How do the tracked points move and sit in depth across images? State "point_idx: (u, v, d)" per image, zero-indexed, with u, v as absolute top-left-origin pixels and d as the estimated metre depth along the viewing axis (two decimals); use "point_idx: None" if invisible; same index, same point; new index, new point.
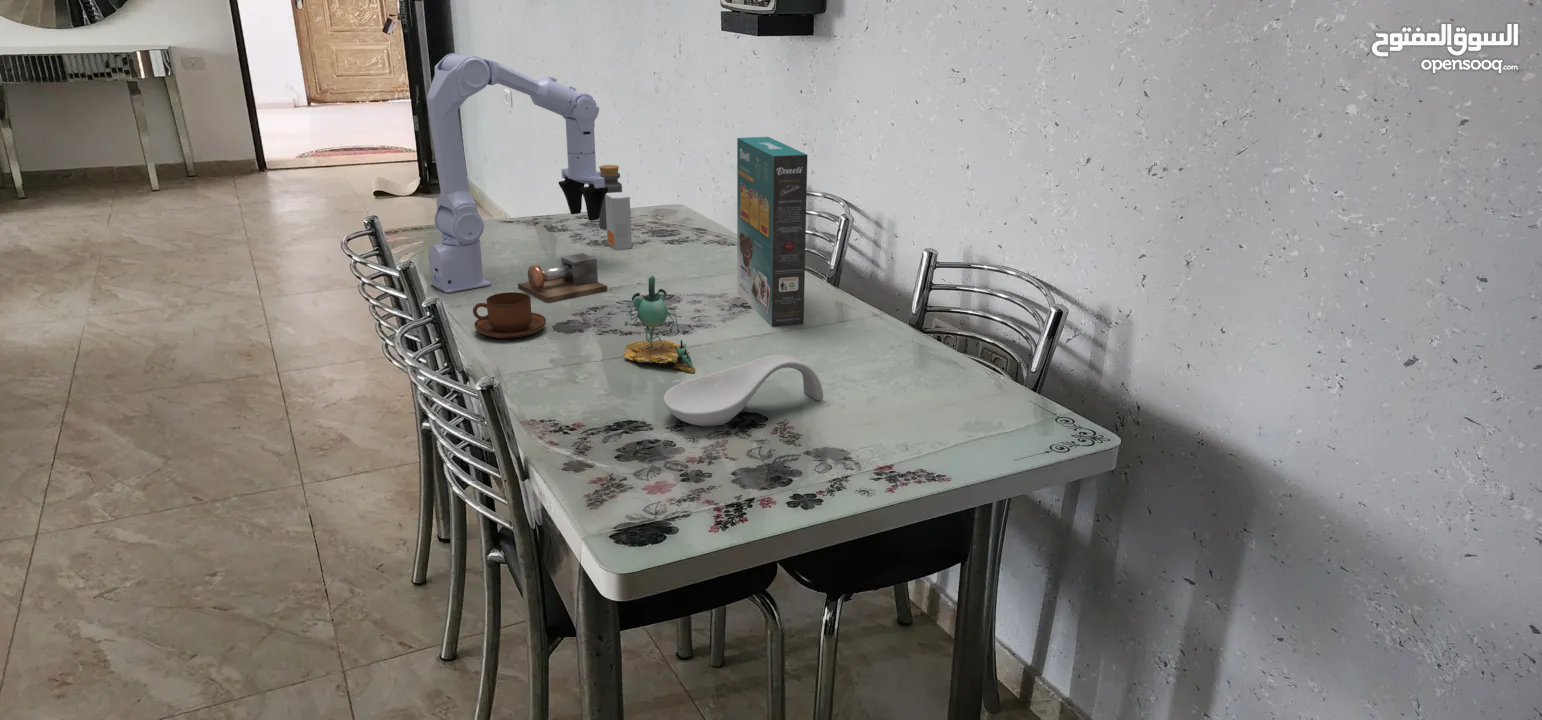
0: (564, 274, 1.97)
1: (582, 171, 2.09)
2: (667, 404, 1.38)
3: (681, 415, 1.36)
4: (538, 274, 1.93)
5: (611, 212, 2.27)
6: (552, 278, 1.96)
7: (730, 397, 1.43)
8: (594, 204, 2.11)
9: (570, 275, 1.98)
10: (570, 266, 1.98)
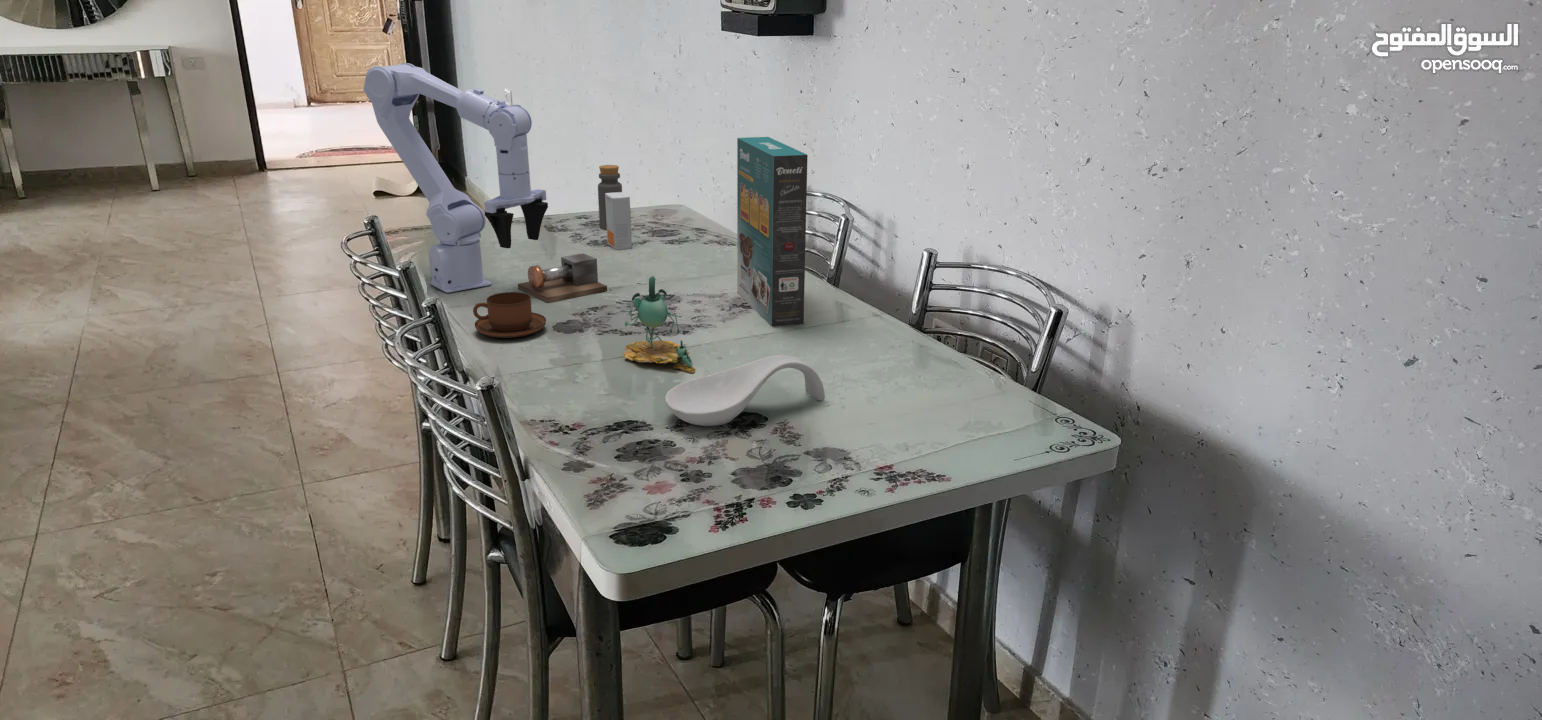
0: (564, 274, 1.97)
1: (500, 192, 1.90)
2: (668, 404, 1.38)
3: (682, 415, 1.36)
4: (538, 274, 1.93)
5: (611, 212, 2.27)
6: (552, 278, 1.96)
7: (732, 397, 1.43)
8: (502, 230, 1.90)
9: (570, 275, 1.98)
10: (570, 266, 1.98)
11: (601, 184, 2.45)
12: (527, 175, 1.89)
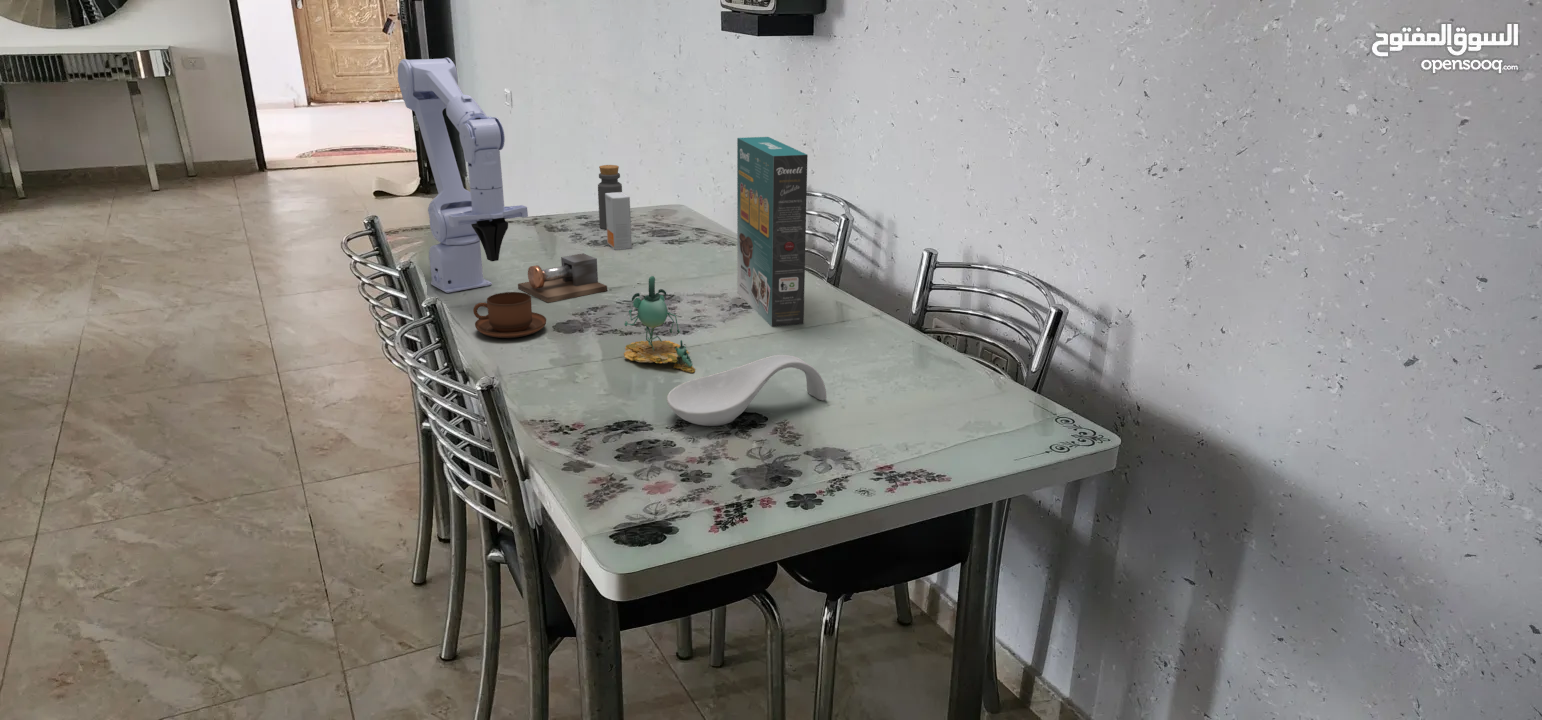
0: (564, 274, 1.97)
1: None
2: (670, 404, 1.38)
3: (684, 415, 1.36)
4: (538, 274, 1.93)
5: (611, 212, 2.27)
6: (552, 278, 1.96)
7: (734, 397, 1.43)
8: (487, 242, 1.86)
9: (570, 275, 1.98)
10: (570, 266, 1.98)
11: (601, 184, 2.45)
12: (496, 190, 1.82)
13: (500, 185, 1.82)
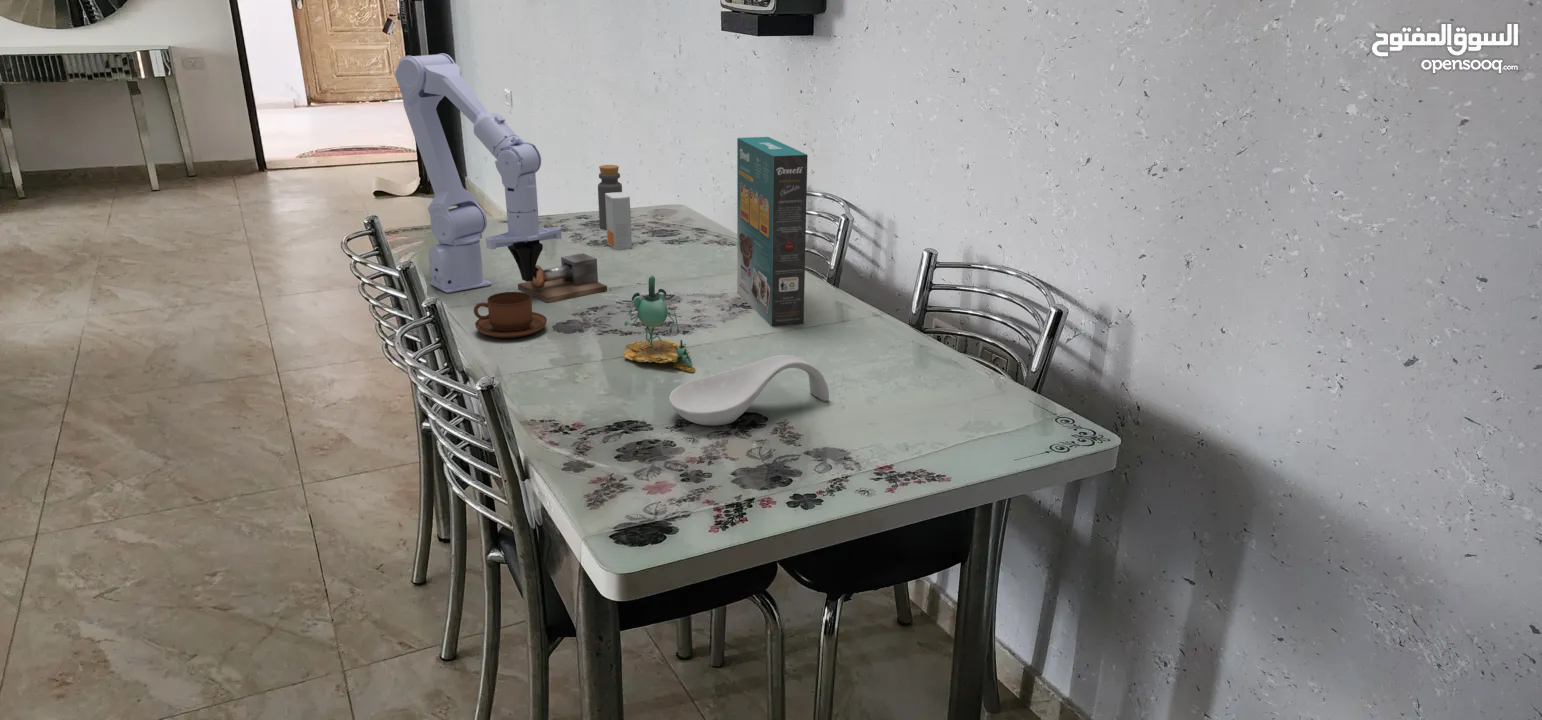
0: (564, 274, 1.97)
1: (508, 228, 1.90)
2: (672, 403, 1.38)
3: (686, 415, 1.36)
4: (538, 274, 1.93)
5: (611, 212, 2.27)
6: (552, 278, 1.96)
7: (736, 397, 1.44)
8: (522, 263, 1.92)
9: (571, 275, 1.98)
10: (571, 266, 1.98)
11: (601, 184, 2.45)
12: (532, 214, 1.87)
13: (537, 207, 1.89)
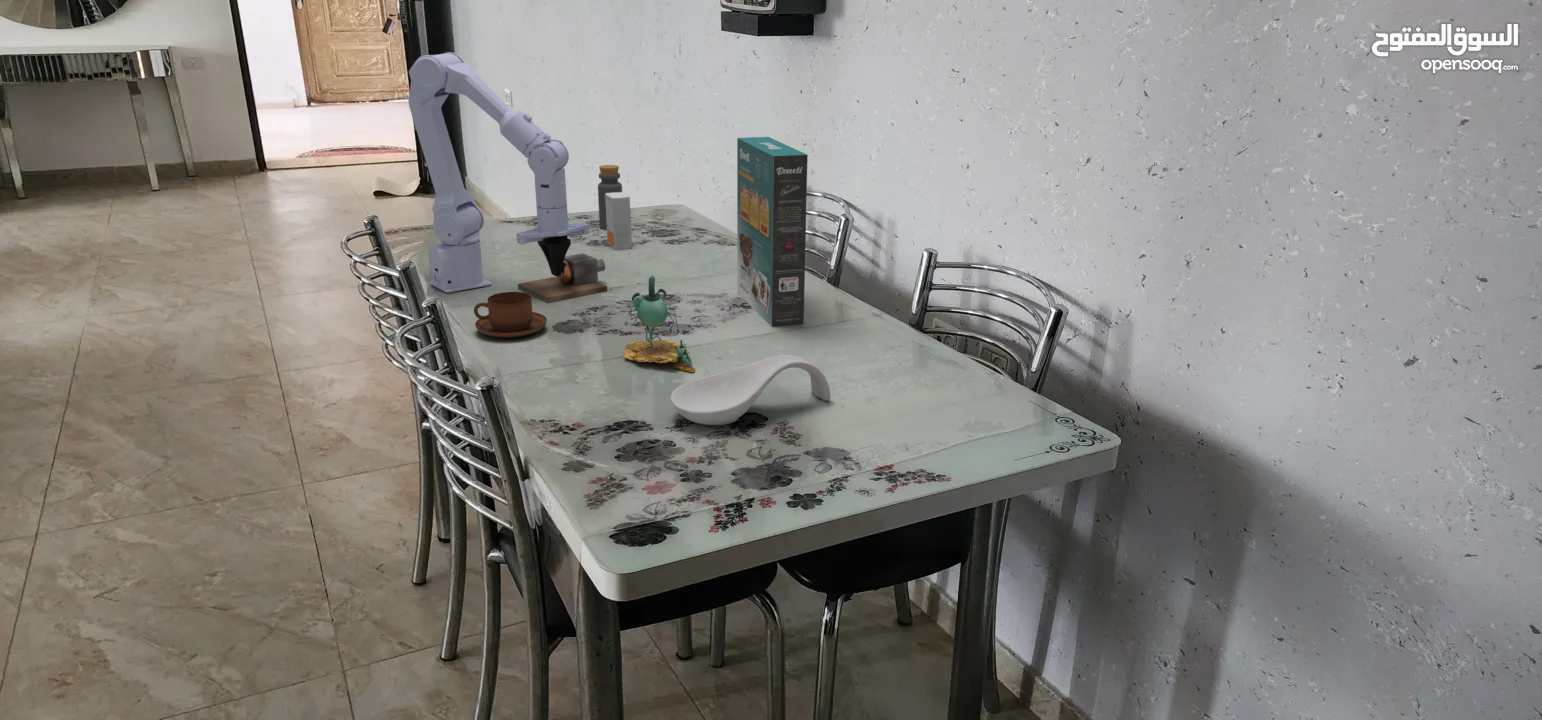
0: None
1: None
2: (674, 403, 1.38)
3: (687, 414, 1.36)
4: (566, 268, 1.96)
5: (611, 212, 2.27)
6: None
7: (737, 397, 1.44)
8: (552, 258, 1.96)
9: (597, 270, 2.02)
10: (597, 261, 2.02)
11: (601, 184, 2.45)
12: (562, 209, 1.91)
13: None
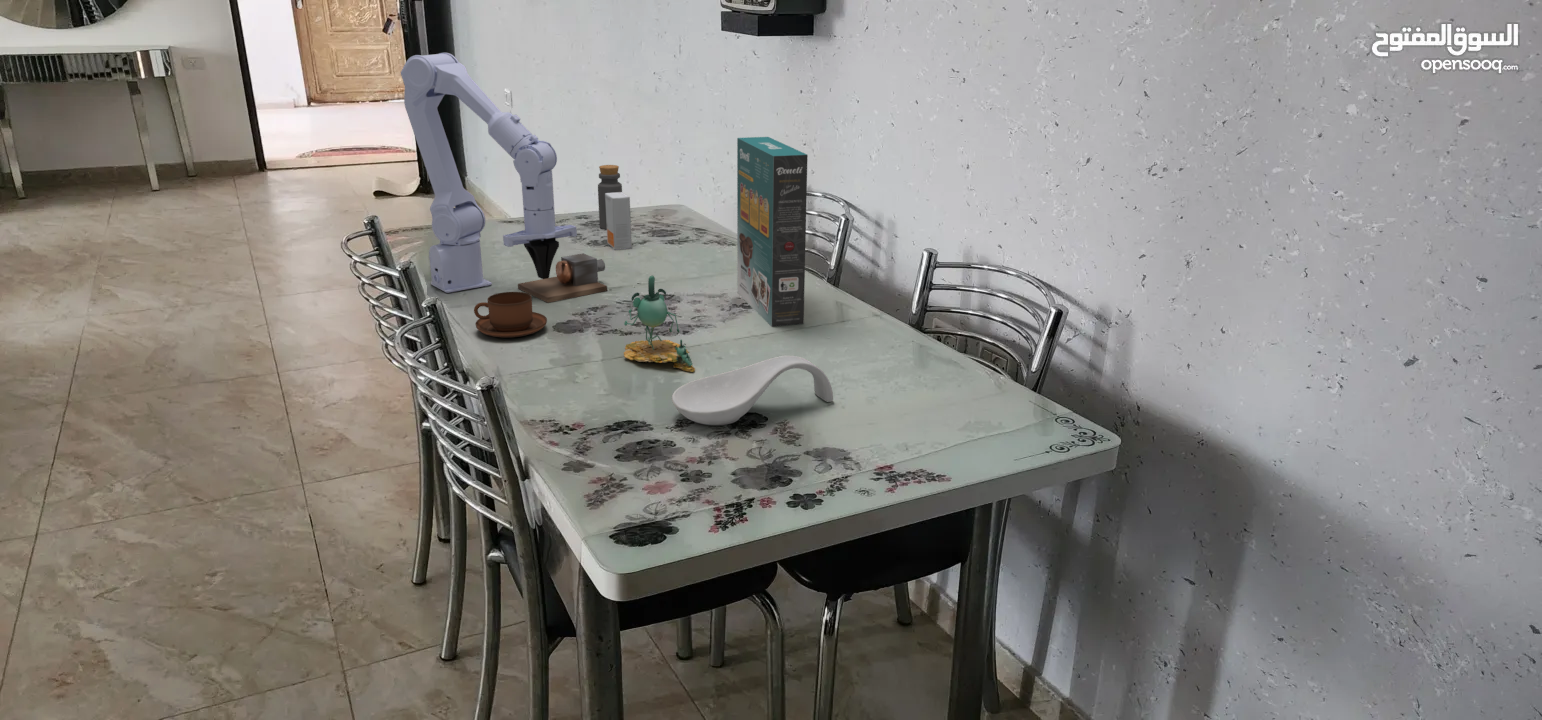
0: None
1: None
2: (675, 402, 1.39)
3: (688, 414, 1.37)
4: (566, 268, 1.96)
5: (611, 212, 2.27)
6: None
7: (739, 397, 1.44)
8: (538, 261, 1.94)
9: (597, 270, 2.02)
10: (597, 261, 2.02)
11: (601, 184, 2.45)
12: (549, 212, 1.90)
13: None
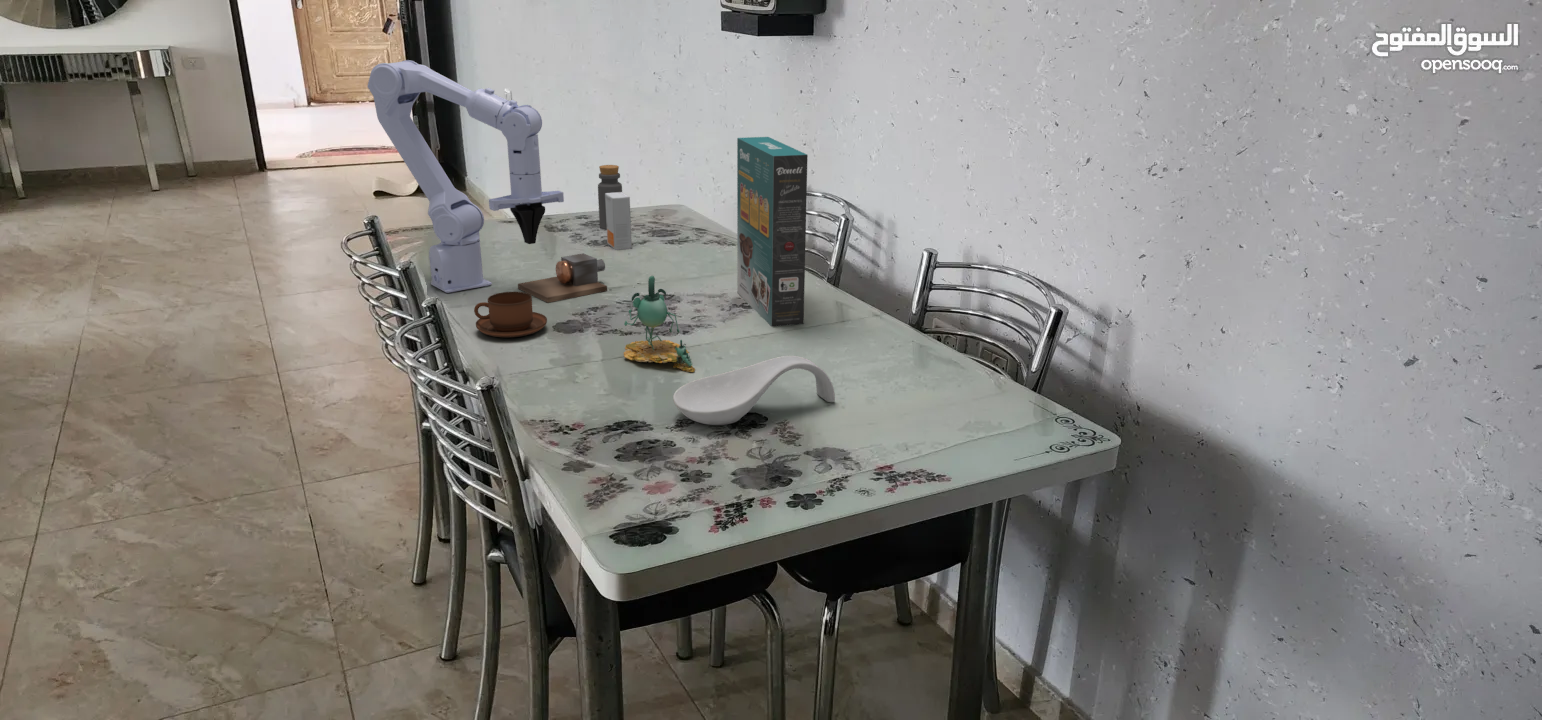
0: None
1: None
2: (676, 402, 1.39)
3: (688, 414, 1.37)
4: (566, 268, 1.96)
5: (611, 212, 2.27)
6: None
7: (741, 397, 1.44)
8: (524, 226, 1.94)
9: (597, 270, 2.02)
10: (597, 261, 2.02)
11: (601, 184, 2.45)
12: (535, 176, 1.90)
13: None
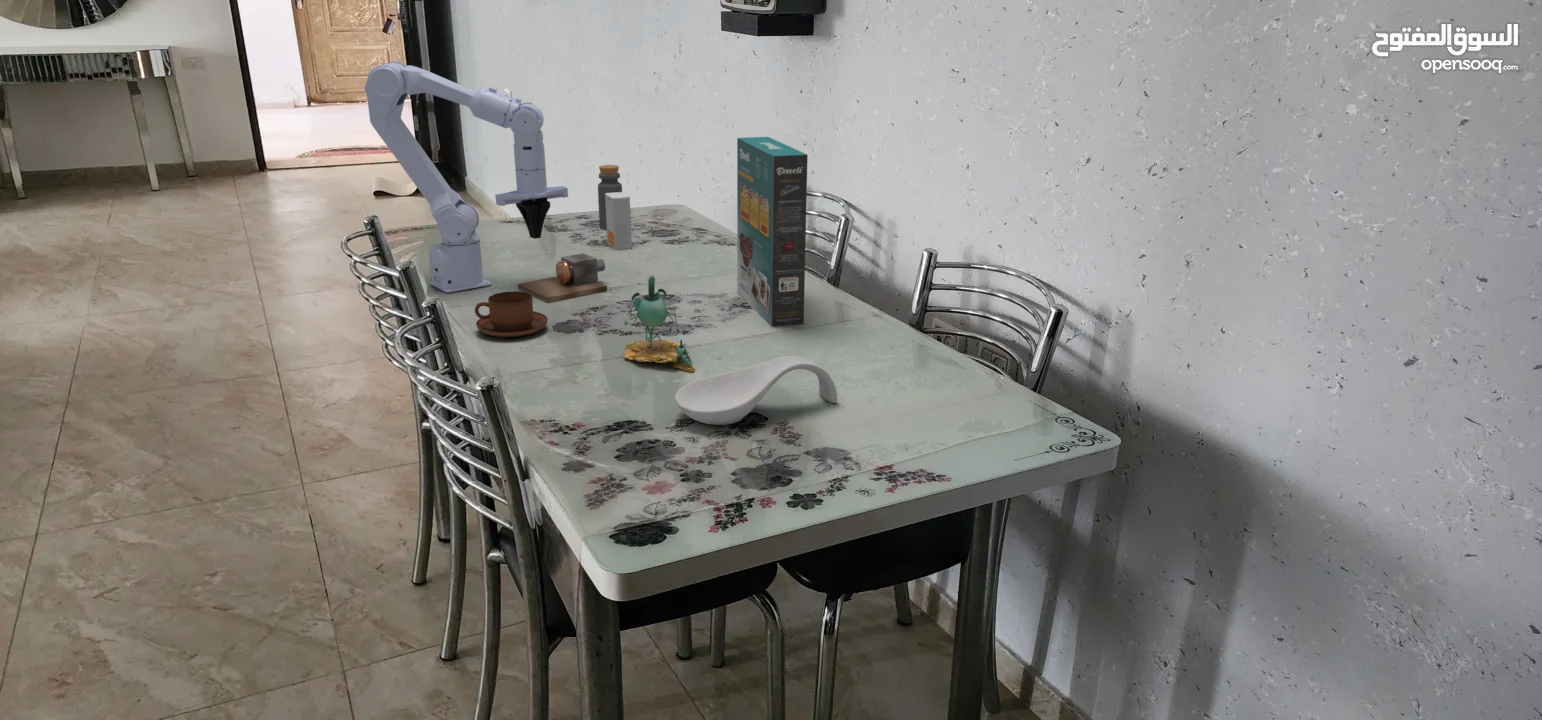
0: None
1: None
2: (677, 402, 1.39)
3: (690, 413, 1.37)
4: (566, 268, 1.96)
5: (611, 212, 2.27)
6: None
7: (743, 397, 1.44)
8: (530, 221, 1.98)
9: (597, 270, 2.02)
10: (597, 261, 2.02)
11: (601, 184, 2.45)
12: (540, 172, 1.94)
13: None
